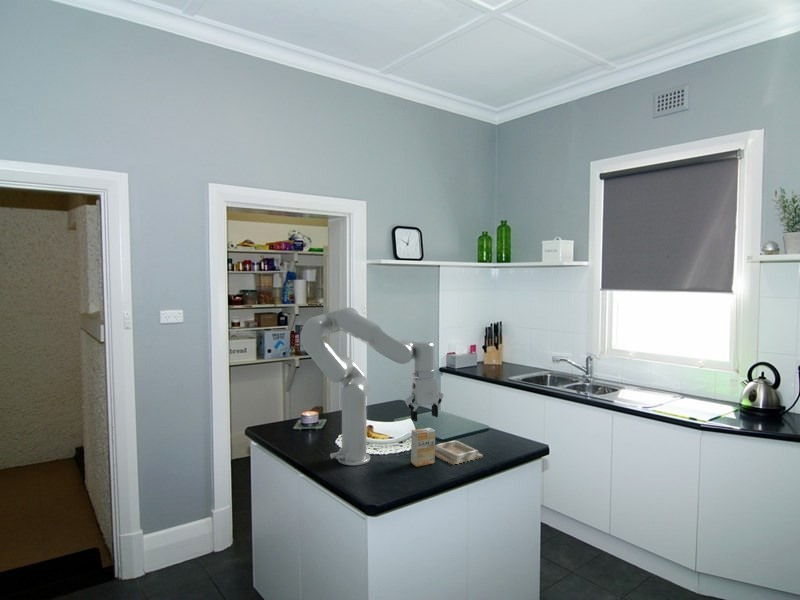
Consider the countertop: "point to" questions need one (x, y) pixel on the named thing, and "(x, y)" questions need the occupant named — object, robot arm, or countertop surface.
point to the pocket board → (456, 452)
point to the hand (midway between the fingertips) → (424, 418)
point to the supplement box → (423, 447)
